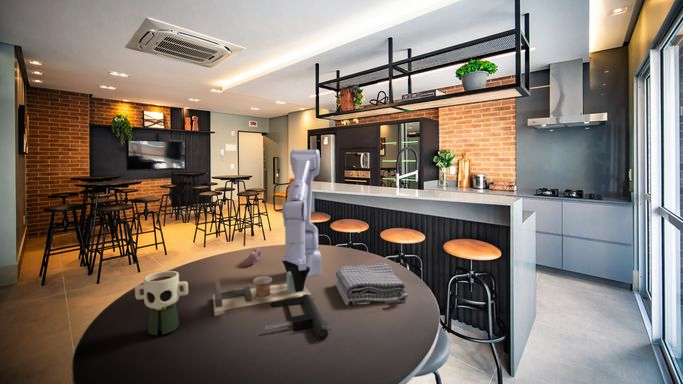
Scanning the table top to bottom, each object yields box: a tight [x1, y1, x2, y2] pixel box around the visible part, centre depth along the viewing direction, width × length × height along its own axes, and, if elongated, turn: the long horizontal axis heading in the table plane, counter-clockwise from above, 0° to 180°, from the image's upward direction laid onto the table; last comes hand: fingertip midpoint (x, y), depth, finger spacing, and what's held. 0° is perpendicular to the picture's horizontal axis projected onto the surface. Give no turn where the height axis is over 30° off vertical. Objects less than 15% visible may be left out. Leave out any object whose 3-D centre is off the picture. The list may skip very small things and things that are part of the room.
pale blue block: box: [286, 272, 304, 294], centre depth 92 cm, size 4×3×6 cm, turn 114°
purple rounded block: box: [241, 247, 263, 268], centre depth 121 cm, size 10×5×7 cm, turn 179°
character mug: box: [134, 270, 189, 336], centre depth 72 cm, size 11×7×13 cm, turn 104°
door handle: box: [257, 294, 332, 341], centre depth 76 cm, size 3×20×16 cm
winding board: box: [212, 275, 313, 317], centre depth 89 cm, size 26×11×6 cm, turn 114°
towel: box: [335, 262, 409, 306], centre depth 92 cm, size 15×18×8 cm
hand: (295, 286), depth 92 cm, fingers open, 7 cm apart
